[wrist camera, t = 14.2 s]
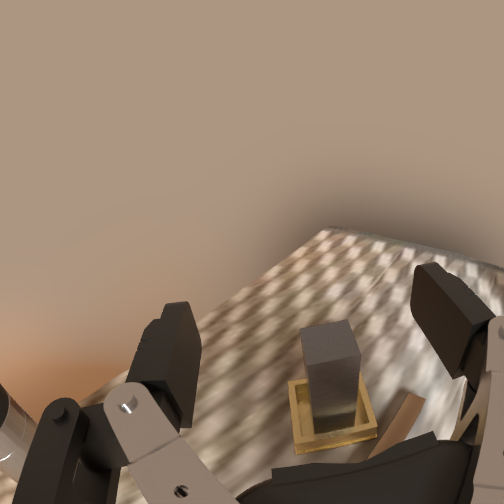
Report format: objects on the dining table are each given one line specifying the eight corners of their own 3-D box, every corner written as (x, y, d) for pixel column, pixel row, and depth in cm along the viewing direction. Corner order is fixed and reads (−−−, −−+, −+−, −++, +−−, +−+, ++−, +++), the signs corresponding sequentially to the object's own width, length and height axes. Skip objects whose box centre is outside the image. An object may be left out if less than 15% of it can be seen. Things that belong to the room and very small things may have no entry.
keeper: (295, 454, 31) (293, 445, 30) (288, 392, 40) (286, 380, 39) (376, 437, 30) (379, 427, 29) (359, 378, 39) (359, 366, 38)
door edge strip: (334, 505, 24) (335, 499, 23) (405, 405, 33) (409, 392, 32) (351, 514, 22) (354, 509, 21) (420, 411, 31) (425, 399, 30)
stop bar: (314, 434, 33) (306, 365, 26) (309, 403, 37) (299, 328, 31) (354, 425, 32) (360, 354, 26) (346, 395, 37) (347, 319, 30)
